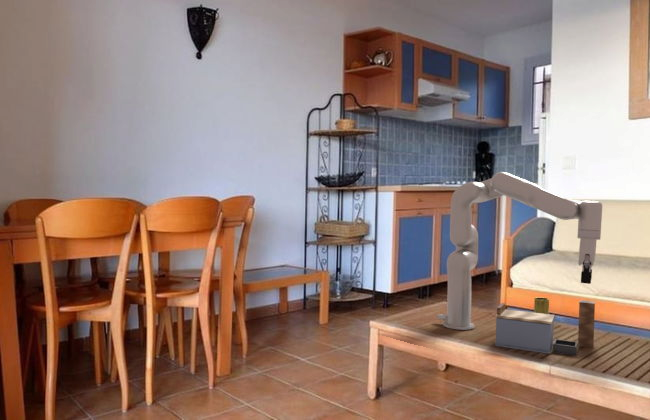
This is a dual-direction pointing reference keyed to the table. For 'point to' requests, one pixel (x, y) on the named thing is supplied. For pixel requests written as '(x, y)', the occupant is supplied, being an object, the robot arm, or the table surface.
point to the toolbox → (524, 335)
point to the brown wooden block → (586, 323)
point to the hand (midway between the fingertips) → (586, 281)
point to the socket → (565, 347)
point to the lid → (523, 315)
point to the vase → (541, 305)
